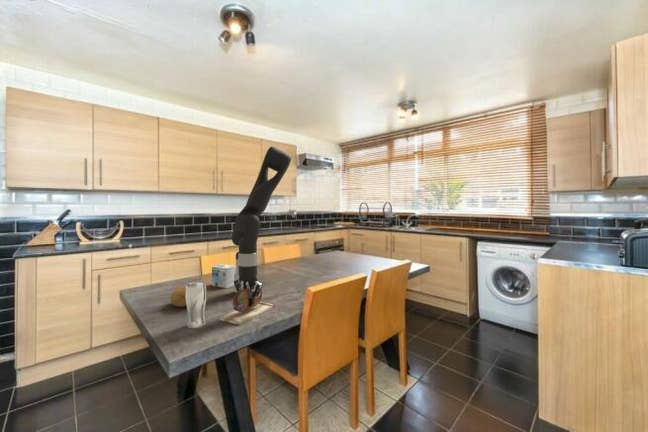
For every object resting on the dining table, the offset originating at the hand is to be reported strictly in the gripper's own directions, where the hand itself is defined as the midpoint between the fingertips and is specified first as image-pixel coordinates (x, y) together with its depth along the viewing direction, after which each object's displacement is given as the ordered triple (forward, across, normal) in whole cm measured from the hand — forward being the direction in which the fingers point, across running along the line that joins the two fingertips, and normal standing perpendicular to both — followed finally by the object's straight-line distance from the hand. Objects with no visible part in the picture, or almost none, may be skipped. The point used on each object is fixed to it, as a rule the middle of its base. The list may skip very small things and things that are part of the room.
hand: (248, 305), depth 112 cm
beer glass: (+3, -10, -17) cm, 20 cm away
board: (+3, 0, 0) cm, 3 cm away
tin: (+1, 0, 0) cm, 1 cm away
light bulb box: (+3, -38, +24) cm, 45 cm away
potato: (+3, -31, -6) cm, 32 cm away
